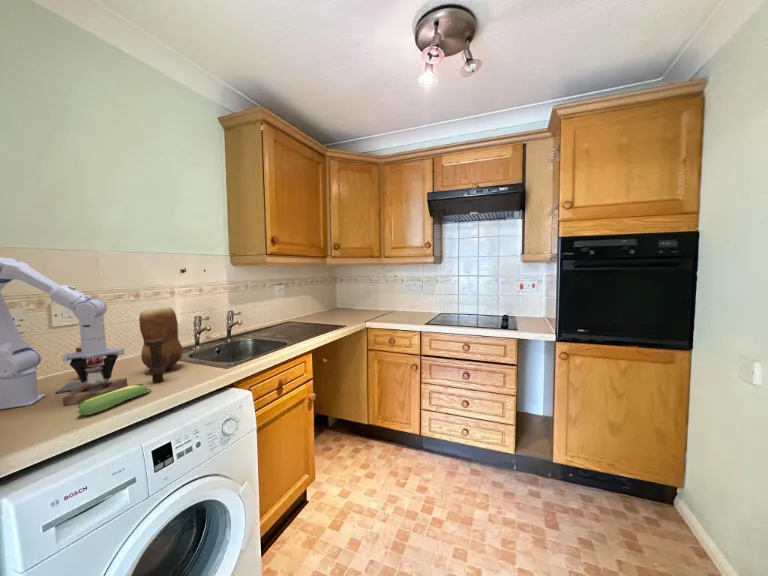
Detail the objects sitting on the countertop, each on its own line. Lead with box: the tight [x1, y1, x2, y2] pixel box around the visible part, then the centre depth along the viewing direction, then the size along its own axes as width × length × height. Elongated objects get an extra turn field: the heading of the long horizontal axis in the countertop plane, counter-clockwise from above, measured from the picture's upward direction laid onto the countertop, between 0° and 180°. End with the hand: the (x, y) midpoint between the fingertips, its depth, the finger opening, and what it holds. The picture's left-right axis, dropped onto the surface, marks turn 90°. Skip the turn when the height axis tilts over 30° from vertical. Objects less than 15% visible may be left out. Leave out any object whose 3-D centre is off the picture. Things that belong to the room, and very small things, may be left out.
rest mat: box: [55, 379, 110, 395], centre depth 108 cm, size 11×9×1 cm
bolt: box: [145, 338, 166, 384], centre depth 111 cm, size 6×5×15 cm
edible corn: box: [75, 383, 153, 416], centre depth 93 cm, size 5×20×5 cm, turn 163°
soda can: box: [75, 345, 104, 380], centre depth 117 cm, size 7×7×12 cm
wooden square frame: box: [62, 377, 128, 407], centre depth 100 cm, size 12×12×2 cm
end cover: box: [83, 363, 107, 391], centre depth 100 cm, size 6×6×8 cm
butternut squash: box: [138, 306, 184, 371], centre depth 123 cm, size 14×13×25 cm
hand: (96, 379), depth 100 cm, fingers closed on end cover, 5 cm apart
